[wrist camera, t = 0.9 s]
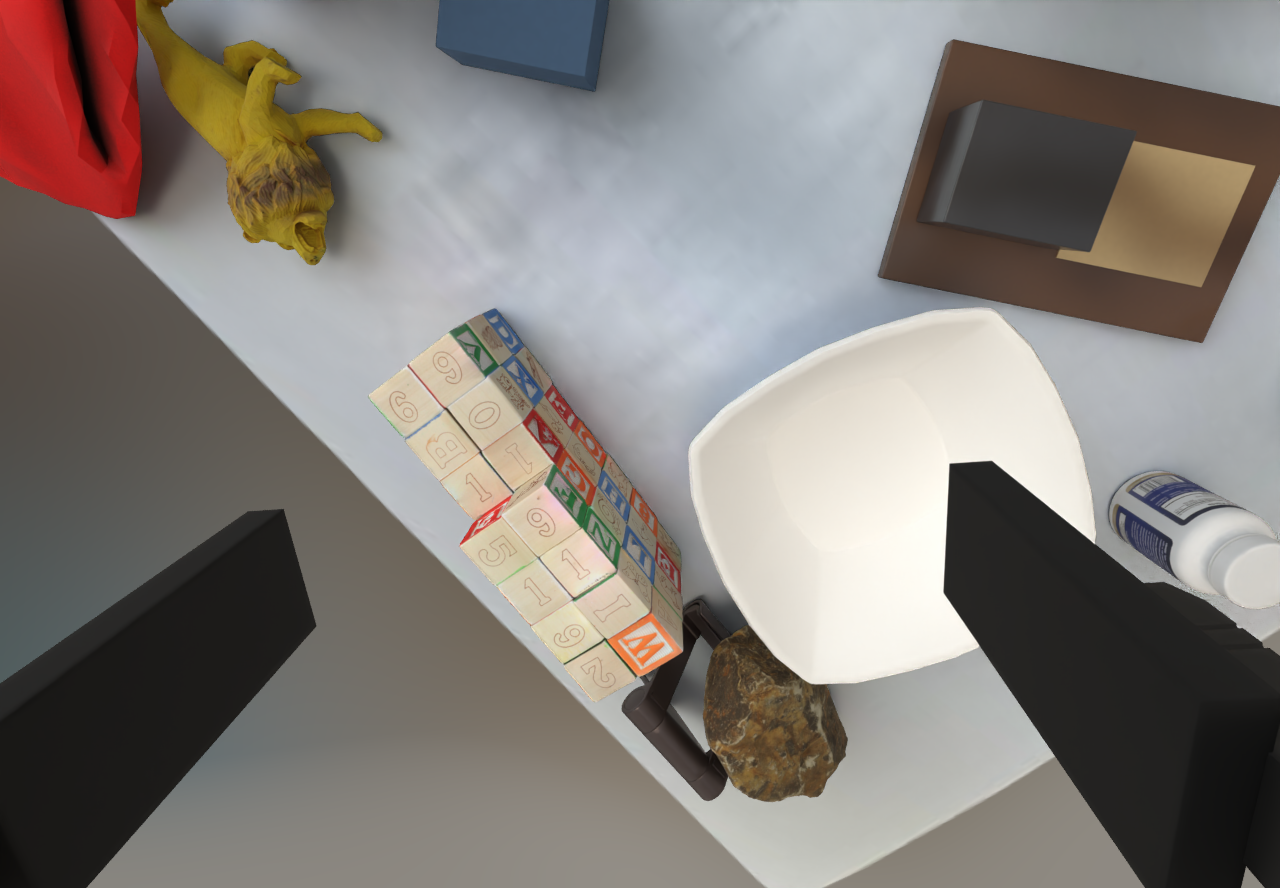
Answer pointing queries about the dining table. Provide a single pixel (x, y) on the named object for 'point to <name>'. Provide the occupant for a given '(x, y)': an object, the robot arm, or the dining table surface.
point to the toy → (254, 133)
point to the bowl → (874, 486)
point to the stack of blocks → (542, 504)
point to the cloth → (71, 101)
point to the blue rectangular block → (526, 37)
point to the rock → (769, 722)
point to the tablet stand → (662, 720)
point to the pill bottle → (1199, 538)
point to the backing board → (1101, 108)
